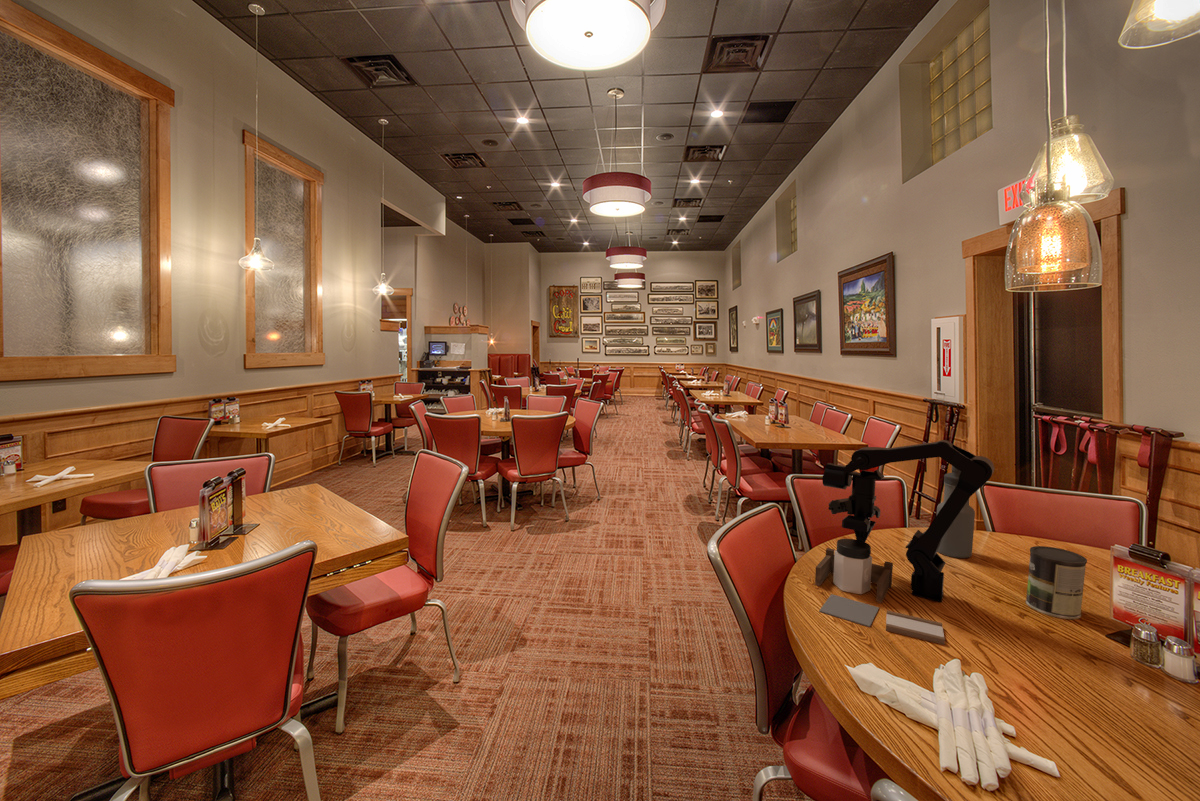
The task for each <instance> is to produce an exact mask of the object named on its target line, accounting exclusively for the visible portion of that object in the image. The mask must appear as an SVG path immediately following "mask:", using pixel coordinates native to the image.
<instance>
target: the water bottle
mask: <svg viewBox="0 0 1200 801" xmlns="http://www.w3.org/2000/svg"><path fill="white" fill-rule="evenodd" d="M960 473H961V471H960V470H958V469H956V468H955V467H953V466H952V465H951V472H948V473H945V474H944V475H943V484H944V491H943V501H942V502H939V503H938V505H937V507H936V515H937V514H938V513H939V511H940V510H941V508H942V507H943V505H944V504H945V502H946V501H947V499H948V498H949V497H950V495H951V494H952V492H953V491H954V489H955V487H956V484H957V481H958V478H959V476H960ZM975 511H976V510H975V509H974V508H973V507H972V506H970V498H969V499H968V501H967V502H966V504H965V505H964V507H963V508H962V510H961V511H960V512H959V514H958V515H957V517H956V518H955V520H954V521H953V523H952V524H951V526H950V527H949V528H948V530H947V531H946V533H945V534H944V536H943V537H942V540H941V543H940V546H939V548H938V551H937V553H938V554H941V555H943V556H946V557H950V558H954V559H955V558H956V559H967V558H970V557H971V556H972V555H973V548H974V547H973V545H974V543H973V542H974V533H975V532H974V531H975V518H976V512H975Z"/></svg>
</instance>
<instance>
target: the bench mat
mask: <svg viewBox="0 0 1200 801" xmlns="http://www.w3.org/2000/svg"><path fill="white" fill-rule="evenodd" d="M879 609H880V607H879V606H875V605H873V604H872V605H871V604H868V603H865V602H861V601H858V600H854V599H851V598H847V597H844V596H840V595H837V594H836V595H835V594H830V595H829V597H827V599H826V600H825V602H824V604H823V605H822V606H821V608H820V609H819V613H822V614H826V615H829V616H832V617H836V618H839V619H842V620H845V621H848V622H851V623H855V624H858V625H861V626H865V627H868V628H871V626H872V624H873V621H874V619H875V617H876V616H877V613H878V611H879Z"/></svg>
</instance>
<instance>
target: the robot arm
mask: <svg viewBox="0 0 1200 801" xmlns="http://www.w3.org/2000/svg"><path fill="white" fill-rule="evenodd" d="M932 458H940V459H942V460H944V461H945V462H946V463H948V464H949V465H950V466H951V467H952V466H953V467H955V468H956V469H958V470H960V471H961V473H960V476H959V478H958V481H957V484H956V487H955V489H954V491H953V492H952V494H951V495H950V497H949V498H948V499H947V501H946V502H945V504H944V505H943V507H942V508H941V510H940V511H939V513H938V514H937V513H936V516H935V517H934V519H933V521H932V522H931V523H930V525H929V526H928V528H927V529H925V531H923V532H922V531H920V530H919V529H917V531H916V532H915V533H914V534H913V535H912V537H911V540H910V541H909V542H908V544H907V545H906V546H905V547H904V548H905V549H906V552H905V556H906V559H907V561H908V562H909V563H910V564H911V565H912V567H913V571H912V573H911V576H910V590H911V595H912V596H914V597H920V598H923V599H928V600H931V601H935V602H938V603H942V601H943V598H944V578H945V572H943V569H944V567H945V565H946V561H945V559H943V558H942V557H941V556H940V555H939V553H938V548H939V546H940V543H941V540H942V537H943V536H944V534H945V533H946V531H947V530H948V528H949V527H950V526H951V524H952V523H953V521H954V520H955V518H956V517H957V515H958V514H959V512H960V511H961V510H962V508H963V507H964V505H965V504H966V502H967V501H968V499H969V500H970V499H971V497H972V496H973V495H974V494H975V493H976V492H978V491H979V489H981V488H982V487H983V486H984V485H985V484H986V483H987V482H988V481H989V480H990V479H991V478H992V476H993V474H994V472H995V465H994V463H993V461H992V460H991V459H990V458H988V457H986V456H982V455H975V454H973V453H972V452H970V451H968V450H966V449H964V448H962V447H959V446H957V445H955V444H954V443H952V442H950V440H947V439H941V440H939V441H933V442H926V443H925V442H924V443H919V444H909V445H903V446H896V447H895V446H894V447H880V446H864V447H861V448H859V449H857V450H855V451H853V453H852V455H851V458H850V461H849V462H848V463H847V464H846V465H842V464H835V463H831V462H830V463H829V462H828V463H826V464H825V468H824V471H823V475H822V479H821V480H822V485H823V487H828V488H834V489H841V490H846V489H847V488H849V487H851V494H850V495H849V496H848V498H839V499H832V500H830V501H829V502H828V510H829V511H830V512H831V514H832V515H837V514H841V513H847V516H845V517H844V518H843V519H842V520H841V527H842V528H843V529H847V530H852V531H853V532H854V535H855V540H860V541H863V542H865V543H866V541H867V540H868V538H869V536H870V534H871V532H872V531H873V529H874V526H875V525H876V521H874V520H871V519H873V517H874V516H875V518H876V519H879V518H880V517H881V509H880V508H879V507H878V505H875V501H876V500H877V495H875V494H876V481H877V480H878V481H881V480H882V479H884V478H885V475H884V474H883V473H882V472H880V470H879V469H876V470H874V471H871V469H874V468H877V467H878V468H879V467H881V466H884V465H887V464H891V463H899V462H906V461H915V460H916V461H917V460H925V459H926V460H927V459H932ZM857 470H859V471H860V472H857ZM855 471H856V472H855Z"/></svg>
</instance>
